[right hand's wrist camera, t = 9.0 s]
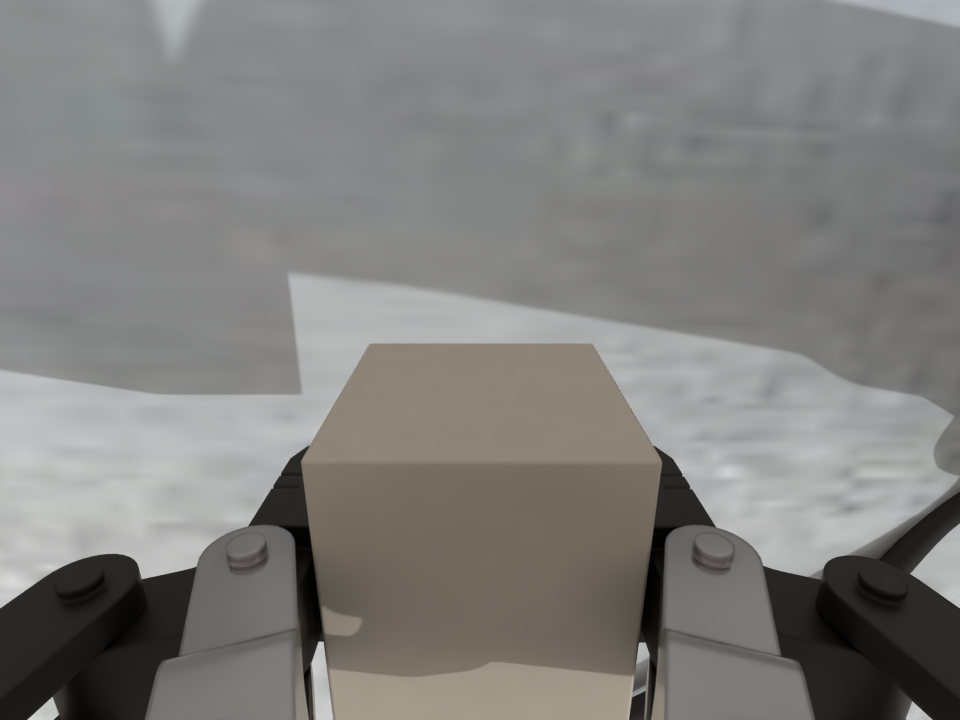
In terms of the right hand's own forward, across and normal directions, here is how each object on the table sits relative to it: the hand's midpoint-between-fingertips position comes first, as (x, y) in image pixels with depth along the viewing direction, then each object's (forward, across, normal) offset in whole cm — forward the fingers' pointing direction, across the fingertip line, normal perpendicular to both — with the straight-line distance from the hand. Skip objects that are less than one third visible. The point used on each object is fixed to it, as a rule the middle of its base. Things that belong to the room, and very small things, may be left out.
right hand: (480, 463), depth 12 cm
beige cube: (+1, 0, 0) cm, 1 cm away
